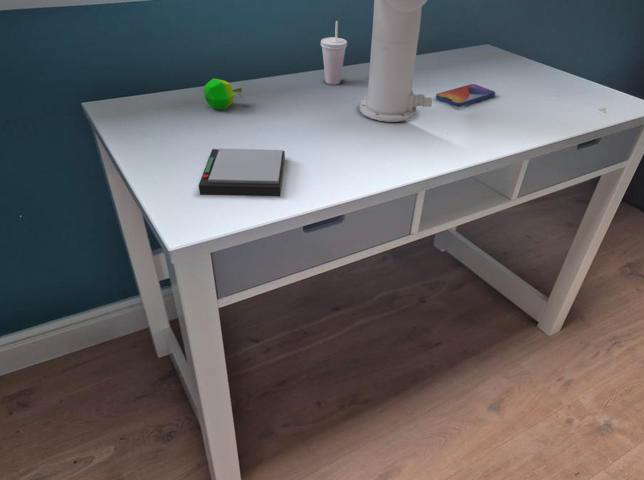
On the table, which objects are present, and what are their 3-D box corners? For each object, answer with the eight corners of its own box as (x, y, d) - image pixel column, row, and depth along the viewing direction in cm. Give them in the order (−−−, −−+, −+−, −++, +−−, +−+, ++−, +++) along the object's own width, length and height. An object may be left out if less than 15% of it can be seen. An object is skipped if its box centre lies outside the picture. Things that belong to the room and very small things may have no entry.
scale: (284, 159, 92) (284, 147, 90) (280, 196, 82) (279, 183, 80) (213, 158, 91) (211, 145, 89) (199, 194, 81) (197, 181, 79)
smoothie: (342, 87, 122) (345, 25, 113) (317, 84, 123) (317, 23, 114) (347, 79, 127) (350, 19, 118) (323, 76, 128) (324, 16, 119)
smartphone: (496, 96, 123) (497, 92, 122) (457, 108, 115) (458, 104, 114) (472, 87, 127) (473, 83, 126) (433, 98, 119) (434, 94, 118)
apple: (202, 75, 102) (240, 67, 107) (194, 89, 108) (231, 80, 112) (216, 108, 103) (254, 99, 108) (208, 120, 109) (244, 110, 113)
